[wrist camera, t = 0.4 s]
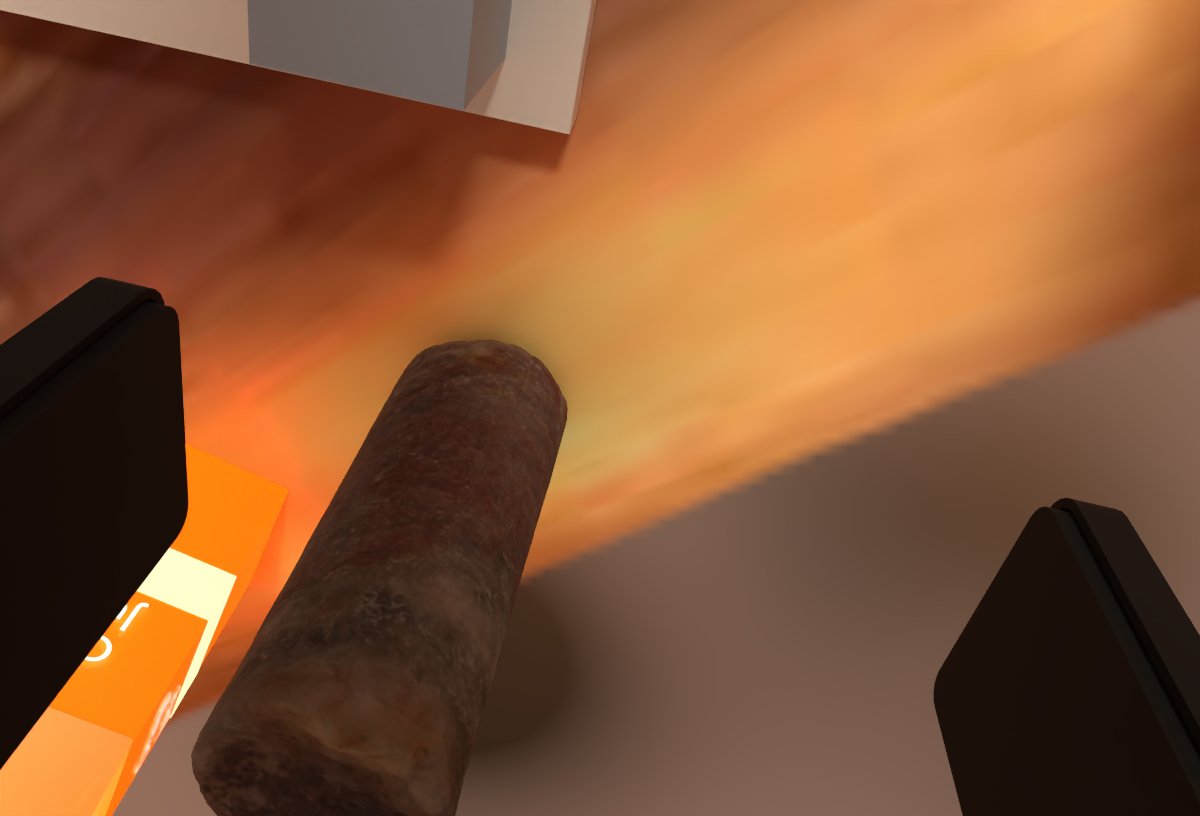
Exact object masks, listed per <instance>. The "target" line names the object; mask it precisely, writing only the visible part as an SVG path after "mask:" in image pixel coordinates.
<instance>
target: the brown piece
mask: <svg viewBox="0 0 1200 816" xmlns="http://www.w3.org/2000/svg"><path fill="white" fill-rule="evenodd" d="M566 421H567V404H566V400H565V398H564V396H563V395H562V393H561V391H560V388H559V386H558V385H557V384H556V382H555V380H554V379H553V377H552V375H551V374H550V372H549V371H548V369H547V368H546V367H545V365H544V364H543V363H542V361H541V360H539V359H537V358H536V357H534V356H532V355H530V354H529V353H527V352H526V351H525V350H523V349H522V348H520V347H517V346H515V345H506V344H504V343H501V342H498V341H492V340H478V341H470V342H468V341H458V342H449V343H445V344H442V345H435V346H432V347H430V348H427V349H425V350H424V351H422V352H421V353H419V354H418V355H416V357H415V358H414V359H413V360H412V361H411V363H410V364H409V365H408V366H407V368H406V369H405V370H404V372H403V374H402V375H401V377H400V379H399V380H398V382H397V383H396V385H395V387H394V389H393V391H392V392H391V394H390V396H389V398H388V399H387V401H386V403H385V404H384V406H383V408H382V410H381V412H380V413H379V415H378V417H377V419H376V421H375V422H374V424H373V426H372V427H371V429H370V431H369V433H368V435H367V437H366V439H365V441H364V443H363V445H362V446H361V448H360V450H359V452H358V454H357V455H356V457H355V459H354V461H353V463H352V464H351V466H350V468H349V470H348V472H347V474H346V475H345V477H344V479H343V481H342V483H341V485H340V486H339V488H338V490H337V492H336V493H335V495H334V497H333V499H332V501H331V503H330V505H329V506H328V508H327V510H326V511H325V513H324V515H323V516H322V518H321V520H320V522H319V523H318V525H317V527H316V529H315V531H314V532H313V534H312V536H311V538H310V540H309V541H308V543H307V545H306V547H305V549H304V551H303V553H302V555H301V557H300V559H299V561H298V562H297V564H296V566H295V568H294V570H293V571H292V573H291V575H290V577H289V578H288V580H287V582H286V584H285V586H284V587H283V589H282V591H281V592H280V594H279V596H278V597H277V599H276V601H275V602H274V604H273V606H272V607H271V609H270V611H269V613H268V614H267V616H266V618H265V620H264V622H263V624H262V625H261V627H260V629H259V631H258V633H257V635H256V637H255V639H254V641H253V643H252V645H251V647H250V649H249V650H248V652H247V654H246V655H245V657H244V659H243V660H242V662H241V664H240V666H239V667H238V669H237V671H236V673H235V674H234V676H233V678H232V680H231V682H230V683H229V685H228V686H227V688H226V689H225V691H224V693H223V694H222V696H221V697H220V699H219V700H218V702H217V704H216V706H215V707H214V709H213V711H212V713H211V715H210V717H209V718H208V720H207V722H206V724H205V726H204V727H203V729H202V731H201V732H200V734H199V737H198V740H197V742H196V744H195V746H194V749H193V752H192V755H191V756H192V767H193V773H194V775H195V778H196V780H197V781H198V783H199V785H200V791H201V793H202V794H203V796H204V798H205V800H206V803H207V804H208V805H209V806H210V807H211V809H212V810H213V811H214V812H215V813H216V815H217V816H455V814H456V809H457V805H458V801H459V797H460V793H461V788H462V784H463V780H464V776H465V773H466V770H467V767H468V764H469V761H470V758H471V756H472V752H473V749H474V745H475V740H476V736H477V731H478V728H479V724H480V720H481V717H482V714H483V710H484V707H485V703H486V699H487V696H488V693H489V689H490V686H491V683H492V680H493V678H494V674H495V670H496V666H497V661H498V658H499V654H500V650H501V647H502V643H503V640H504V636H505V632H506V629H507V625H508V622H509V618H510V615H511V612H512V609H513V605H514V601H515V598H516V594H517V590H518V587H519V583H520V580H521V576H522V573H523V569H524V566H525V562H526V559H527V556H528V552H529V549H530V546H531V543H532V539H533V535H534V531H535V528H536V525H537V522H538V519H539V516H540V512H541V508H542V505H543V502H544V498H545V495H546V492H547V489H548V486H549V483H550V479H551V476H552V472H553V468H554V465H555V461H556V457H557V454H558V450H559V447H560V443H561V439H562V436H563V432H564V428H565V425H566Z"/></svg>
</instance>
